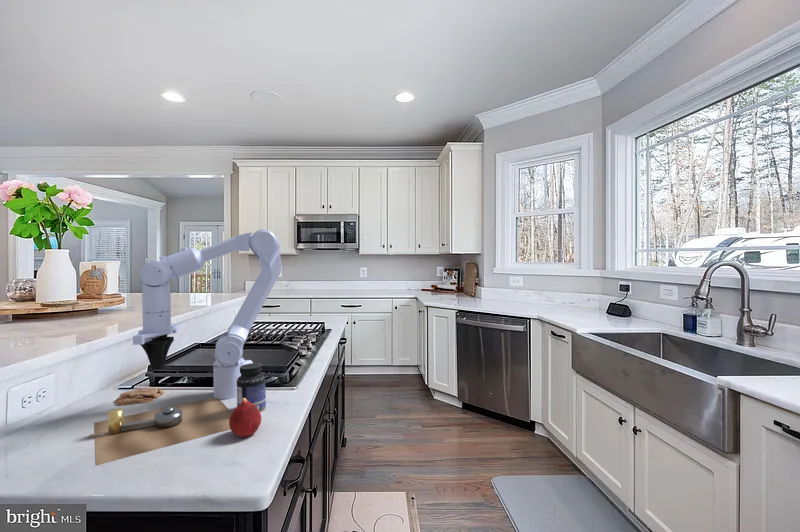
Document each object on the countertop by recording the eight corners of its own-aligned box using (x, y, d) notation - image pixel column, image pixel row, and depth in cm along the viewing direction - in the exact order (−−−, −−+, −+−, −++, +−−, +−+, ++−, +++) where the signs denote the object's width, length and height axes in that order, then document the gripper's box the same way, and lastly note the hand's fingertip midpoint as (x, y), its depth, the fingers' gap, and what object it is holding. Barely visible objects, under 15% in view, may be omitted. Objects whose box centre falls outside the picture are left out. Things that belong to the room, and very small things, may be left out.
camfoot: (183, 416, 84) (183, 397, 83) (180, 425, 79) (180, 405, 79) (112, 427, 78) (111, 407, 78) (105, 437, 74) (104, 416, 74)
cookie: (172, 395, 101) (172, 384, 101) (142, 411, 90) (142, 398, 90) (137, 394, 102) (137, 383, 102) (103, 410, 91) (103, 397, 91)
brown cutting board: (216, 400, 96) (216, 395, 96) (244, 430, 79) (244, 424, 79) (88, 428, 81) (88, 422, 81) (89, 473, 64) (88, 465, 64)
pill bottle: (270, 408, 91) (269, 362, 91) (259, 419, 85) (258, 369, 85) (244, 408, 91) (244, 362, 91) (231, 418, 85) (231, 369, 85)
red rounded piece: (267, 434, 77) (267, 394, 77) (247, 447, 72) (246, 405, 72) (244, 430, 79) (243, 391, 79) (222, 443, 74) (222, 401, 74)
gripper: (158, 308, 99) (158, 360, 99) (118, 316, 84) (119, 378, 84) (186, 307, 99) (186, 360, 99) (150, 315, 84) (151, 377, 85)
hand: (157, 368), depth 92 cm, fingers closed
